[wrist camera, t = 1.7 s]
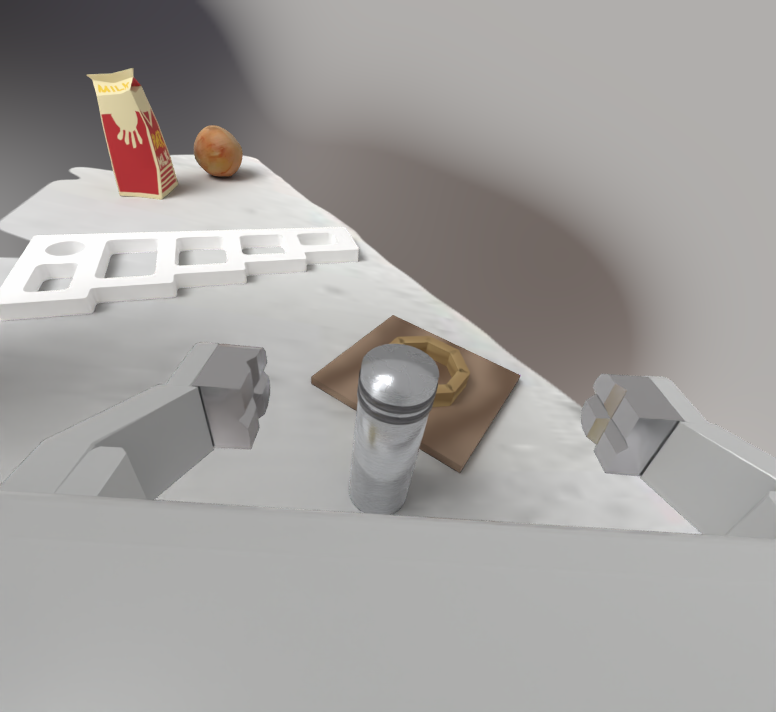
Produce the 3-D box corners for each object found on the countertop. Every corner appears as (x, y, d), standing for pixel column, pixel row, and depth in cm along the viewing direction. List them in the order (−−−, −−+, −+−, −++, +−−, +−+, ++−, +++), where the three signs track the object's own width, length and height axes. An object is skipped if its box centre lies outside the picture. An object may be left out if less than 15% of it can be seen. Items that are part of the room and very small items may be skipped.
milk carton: (178, 184, 84) (154, 66, 71) (164, 199, 77) (134, 72, 64) (130, 180, 82) (97, 59, 69) (111, 195, 75) (71, 65, 62)
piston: (335, 494, 34) (342, 370, 25) (371, 454, 37) (389, 333, 28) (386, 530, 32) (414, 410, 23) (418, 484, 35) (454, 365, 26)
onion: (253, 179, 91) (248, 130, 85) (210, 185, 85) (202, 132, 79) (232, 167, 96) (226, 120, 90) (190, 172, 90) (181, 121, 84)
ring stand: (311, 383, 43) (311, 362, 41) (392, 321, 54) (394, 302, 52) (459, 473, 37) (467, 452, 35) (517, 381, 48) (526, 362, 46)
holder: (344, 241, 73) (345, 226, 71) (375, 292, 61) (377, 276, 59) (42, 253, 58) (34, 235, 56) (1, 325, 46) (-11, 305, 44)
